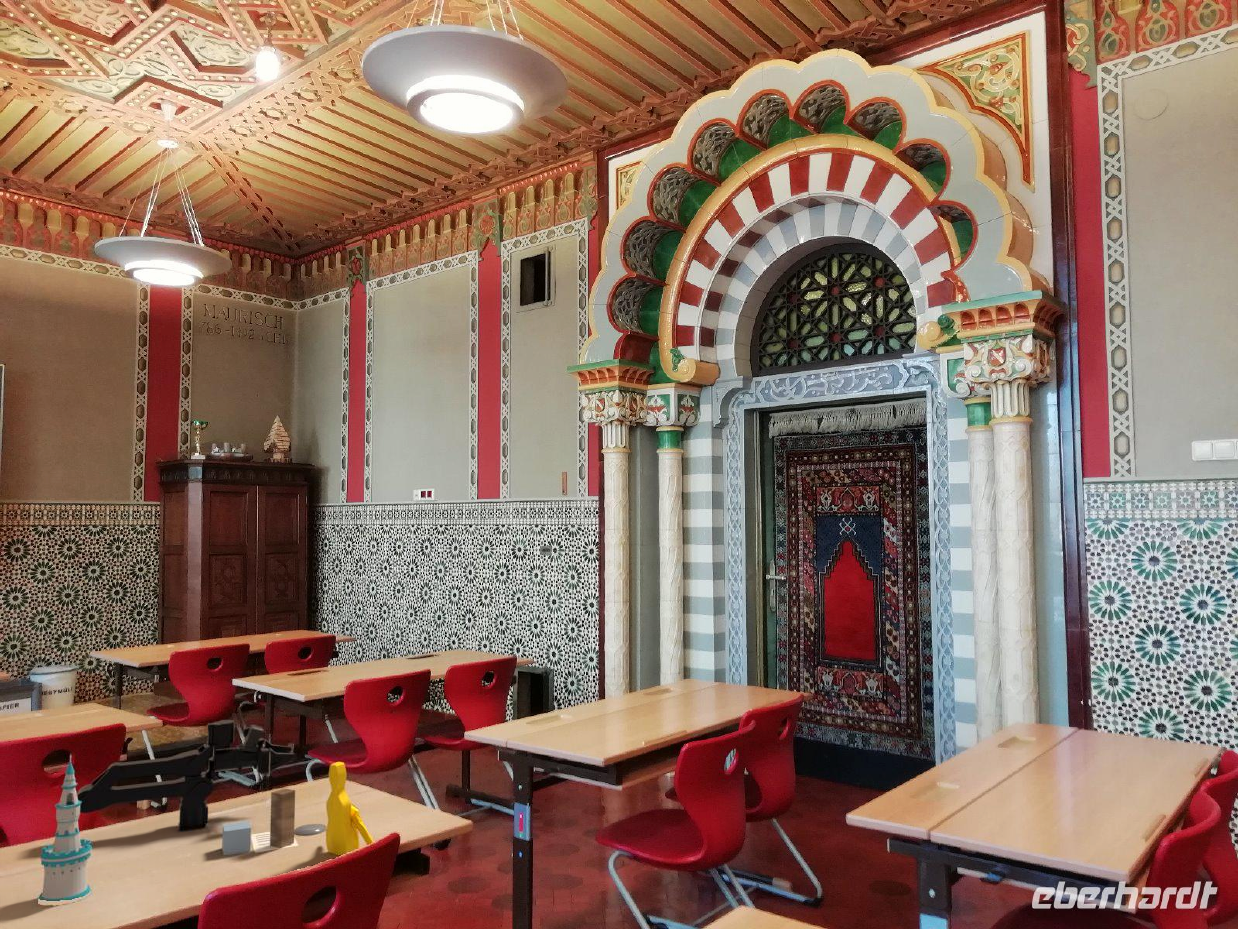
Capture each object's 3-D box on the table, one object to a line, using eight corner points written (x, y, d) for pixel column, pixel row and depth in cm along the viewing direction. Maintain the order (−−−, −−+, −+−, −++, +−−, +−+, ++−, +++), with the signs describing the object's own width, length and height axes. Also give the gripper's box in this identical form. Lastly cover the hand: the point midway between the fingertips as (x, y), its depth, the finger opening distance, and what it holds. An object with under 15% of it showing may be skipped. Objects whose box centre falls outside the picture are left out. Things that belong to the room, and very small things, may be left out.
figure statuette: (380, 856, 214) (381, 762, 215) (353, 866, 207) (355, 769, 209) (333, 842, 224) (334, 753, 225) (306, 851, 217) (308, 759, 219)
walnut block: (269, 845, 221) (271, 792, 222) (282, 841, 224) (283, 788, 225) (281, 848, 219) (282, 794, 220) (294, 843, 222) (295, 790, 224)
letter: (255, 853, 216) (255, 852, 216) (249, 835, 229) (249, 834, 229) (298, 846, 221) (298, 845, 221) (290, 829, 234) (290, 828, 234)
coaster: (296, 838, 227) (296, 835, 227) (292, 829, 234) (292, 826, 234) (328, 833, 231) (328, 830, 231) (323, 824, 238) (323, 822, 238)
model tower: (86, 884, 198) (92, 747, 200) (95, 897, 190) (101, 754, 193) (33, 896, 191) (39, 754, 194) (41, 910, 183) (47, 762, 186)
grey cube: (223, 857, 214) (224, 831, 215) (222, 849, 219) (222, 824, 220) (250, 852, 217) (251, 827, 217) (248, 845, 222) (248, 821, 223)
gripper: (236, 735, 235) (298, 729, 242) (232, 722, 252) (290, 717, 259) (235, 778, 234) (297, 771, 241) (230, 762, 251) (289, 756, 258)
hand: (293, 752), depth 250 cm, fingers open, 9 cm apart
